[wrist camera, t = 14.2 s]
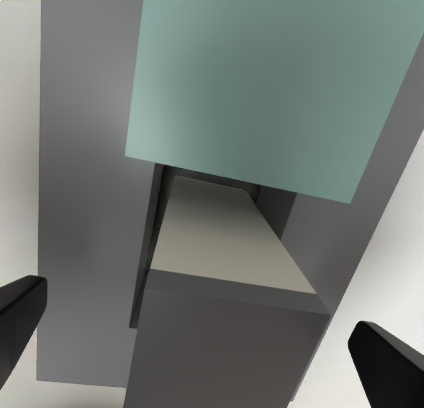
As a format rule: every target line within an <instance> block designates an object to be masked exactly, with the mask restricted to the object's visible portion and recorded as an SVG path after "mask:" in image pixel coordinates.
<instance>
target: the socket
mask: <svg viewBox="0 0 424 408" xmlns="http://www.w3.org/2000/svg"><path fill="white" fill-rule="evenodd" d="M142 8H143V0H41V63H40V142H39V221H38V276H41V277H45V278H46V279H47V281H48V291H47V306H46V309H45V312H44V314H43V316H42V318H41V319H40V321H39V323H38V325H37V379H36V380H37V381H49V382H62V383H74V384H86V385H98V386H110V387H122V388H127V384H128V378H129V373H130V367H131V361H132V356H133V350H134V345H135V339H136V333H137V328H138V322H139V317H140V311H141V305H142V300H143V294H144V289H145V285H146V281H147V277H148V274H149V271H146V265H147V259H148V253H149V248H150V242H151V236H152V230H153V224H154V218H155V213H156V207H157V201H158V195H159V189H160V183H161V178H162V172H163V166H164V164H160V163H155V162H151V161H146V160H141V159H137V158H132V157H127V156H125V150H126V141H127V133H128V125H129V116H130V108H131V100H132V91H133V83H134V75H135V67H136V58H137V50H138V42H139V33H140V25H141V17H142ZM423 129H424V33H423V35H422V38H421V40H420V42H419V45H418V47H417V49H416V52H415V54H414V56H413V59H412V61H411V63H410V66H409V68H408V70H407V73H406V75H405V77H404V80H403V82H402V84H401V86H400V89H399V91H398V93H397V96H396V98H395V100H394V103H393V105H392V107H391V110H390V112H389V114H388V117H387V119H386V121H385V124H384V126H383V128H382V131H381V133H380V135H379V138H378V140H377V142H376V145H375V147H374V149H373V152H372V154H371V156H370V159H369V161H368V163H367V165H366V168H365V170H364V172H363V175H362V177H361V179H360V182H359V184H358V186H357V189H356V191H355V193H354V196H353V198H352V200H351V203H350V204H349V203H344V202H339V201H334V200H330V199H325V198H320V197H316V196H311V195H306V194H301V193H297V192H292V191H287V190H283V189H278V188H273V187H268V186H264V185H261V188H260V191H259V194H258V198H257V201H256V204H255V205H256V207H257V208H258V210H259V211H260V213H261V214H262V216H263V217H264V218H265V220H266V221H267V223H268V224H269V226H270V227H271V229H272V230H273V231H274V233H275V234H276V236H277V237H278V239H279V240H280V242H281V243H282V244H283V246H284V247H285V249H286V250H287V252H288V253H289V254H290V256H291V257H292V259H293V260H294V262H295V263H296V265H297V266H298V267H299V269H300V270H301V272H302V273H303V275H304V276H305V278H306V279H307V280H308V282H309V283H310V285H311V286H312V288H313V289H314V291H315V292H316V293H317V295H318V296H319V298H320V299H321V301H322V302H323V304H324V305H325V306H326V308H327V309H328V311H329V312H330V314H331V317H330V319H329V321H328V323H327V325H326V327H325V329H324V331H323V333H322V335H321V337H320V340H319V342H318V344H317V346H316V348H315V350H314V352H313V354H312V356H311V358H310V360H309V362H308V365H307V367H306V369H305V371H304V373H303V375H302V377H301V379H300V381H299V383H298V385H297V387H296V390H295V392H294V394H293V396H292V398H291V400H290V401H293V399H294V397H295V395H296V393H297V391H298V389H299V387H300V385H301V383H302V381H303V379H304V376H305V374H306V372H307V370H308V368H309V366H310V364H311V362H312V360H313V358H314V356H315V354H316V352H317V349H318V347H319V345H320V343H321V341H322V339H323V337H324V335H325V333H326V331H327V329H328V327H329V324H330V322H331V320H332V318H333V316H334V314H335V312H336V310H337V308H338V306H339V304H340V302H341V300H342V297H343V295H344V293H345V291H346V289H347V287H348V285H349V283H350V281H351V279H352V277H353V275H354V273H355V270H356V268H357V266H358V264H359V262H360V260H361V258H362V256H363V254H364V252H365V250H366V248H367V245H368V243H369V241H370V239H371V237H372V235H373V233H374V231H375V229H376V227H377V225H378V223H379V221H380V218H381V216H382V214H383V212H384V210H385V208H386V206H387V204H388V202H389V200H390V198H391V196H392V193H393V191H394V189H395V187H396V185H397V183H398V181H399V179H400V177H401V175H402V173H403V171H404V169H405V166H406V164H407V162H408V160H409V158H410V156H411V154H412V152H413V150H414V148H415V146H416V144H417V141H418V139H419V137H420V135H421V133H422V131H423Z"/></svg>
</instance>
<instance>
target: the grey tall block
mask: <svg viewBox="0 0 424 408" xmlns="http://www.w3.org/2000/svg"><path fill="white" fill-rule="evenodd" d="M330 317H331V314H330V312H329V311H328V309H327V308H326V306H325V305H324V304H323V302H322V301H321V299H320V298H319V296H318V295H317V293H316V292H315V291H314V289H313V288H312V286H311V285H310V283H309V282H308V280H307V279H306V278H305V276H304V275H303V273H302V272H301V270H300V269H299V267H298V266H297V265H296V263H295V262H294V260H293V259H292V257H291V256H290V254H289V253H288V252H287V250H286V249H285V247H284V246H283V244H282V243H281V242H280V240H279V239H278V237H277V236H276V234H275V233H274V231H273V230H272V229H271V227H270V226H269V224H268V223H267V221H266V220H265V218H264V217H263V216H262V214H261V213H260V211H259V210H258V208H257V207H256V205H255V204H254V203H253V201H252V200H251V198H250V197H249V195H248V194H247V192H246V191H245V190H243V189H239V188H234V187H229V186H224V185H220V184H215V183H210V182H205V181H201V180H196V179H191V178H186V177H182V176H177V175H175V178H174V181H173V185H172V189H171V192H170V196H169V200H168V204H167V207H166V211H165V215H164V218H163V222H162V226H161V229H160V233H159V237H158V240H157V244H156V248H155V252H154V255H153V259H152V263H151V266H150V270H149V274H148V277H147V281H146V285H145V289H144V294H143V300H142V305H141V311H140V317H139V322H138V328H137V333H136V339H135V345H134V350H133V356H132V361H131V367H130V373H129V378H128V384H127V389H126V395H125V401H124V406H123V408H287V406H288V404H289V402H290V400H291V398H292V396H293V394H294V392H295V390H296V387H297V385H298V383H299V381H300V379H301V377H302V375H303V373H304V371H305V369H306V367H307V365H308V362H309V360H310V358H311V356H312V354H313V352H314V350H315V348H316V346H317V344H318V342H319V340H320V337H321V335H322V333H323V331H324V329H325V327H326V325H327V323H328V321H329V319H330Z"/></svg>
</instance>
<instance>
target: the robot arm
mask: <svg viewBox="0 0 424 408" xmlns="http://www.w3.org/2000/svg"><path fill="white" fill-rule="evenodd" d="M47 291H48V281H47V279H46V278H45V277H41V276H34V275H28V276H25V277H23V278H21V279H18V280H16V281H14V282H11V283H9V284H7V285H4V286H2V287H0V390H1V388H2V387H3V385H4V384H5V382H6V381H7V379H8V377H9V376H10V374H11V372H12V371H13V369H14V367H15V365H16V364H17V362H18V360H19V358H20V356H21V354H22V353H23V351H24V349H25V347H26V345H27V343H28V342H29V340H30V338H31V336H32V334H33V332H34V331H35V329H36V327H37V325H38V323H39V321H40V319H41V318H42V316H43V314H44V312H45V309H46V306H47ZM348 349H349V352H350V354H351V357H352V359H353V362H354V365H355V367H356V370H357V373H358V375H359V378H360V380H361V383H362V386H363V388H364V391H365V393H366V396H367V399H368V401H369V403H370V406H371V408H424V355H422V354H421V353H419V352H418V351H416V350H415V349H413V348H412V347H410V346H409V345H407V344H406V343H404V342H403V341H401V340H400V339H398V338H397V337H395V336H394V335H392V334H391V333H389V332H388V331H386V330H385V329H383V328H382V327H380V326H379V325H377V324H375V323H373V322H368V321H359V322H358V323H357V324H356V326H355V328H354V330H353V332H352V334H351V336H350V338H349V340H348Z"/></svg>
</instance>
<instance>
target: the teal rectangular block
mask: <svg viewBox="0 0 424 408" xmlns="http://www.w3.org/2000/svg"><path fill="white" fill-rule="evenodd" d="M423 33H424V0H143V8H142V17H141V25H140V33H139V42H138V50H137V58H136V67H135V75H134V83H133V91H132V100H131V108H130V116H129V125H128V133H127V141H126V150H125V156H127V157H132V158H137V159H141V160H146V161H151V162H155V163H160V164H165V165H170V166H174V167H179V168H184V169H188V170H193V171H198V172H202V173H207V174H212V175H217V176H221V177H226V178H231V179H235V180H240V181H245V182H250V183H254V184H259V185H264V186H268V187H273V188H278V189H283V190H287V191H292V192H297V193H301V194H306V195H311V196H316V197H320V198H325V199H330V200H334V201H339V202H344V203H349V204H350V203H351V200H352V198H353V196H354V193H355V191H356V189H357V186H358V184H359V182H360V179H361V177H362V175H363V172H364V170H365V168H366V165H367V163H368V161H369V159H370V156H371V154H372V152H373V149H374V147H375V145H376V142H377V140H378V138H379V135H380V133H381V131H382V128H383V126H384V124H385V121H386V119H387V117H388V114H389V112H390V110H391V107H392V105H393V103H394V100H395V98H396V96H397V93H398V91H399V89H400V86H401V84H402V82H403V80H404V77H405V75H406V73H407V70H408V68H409V66H410V63H411V61H412V59H413V56H414V54H415V52H416V49H417V47H418V45H419V42H420V40H421V38H422V35H423Z"/></svg>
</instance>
